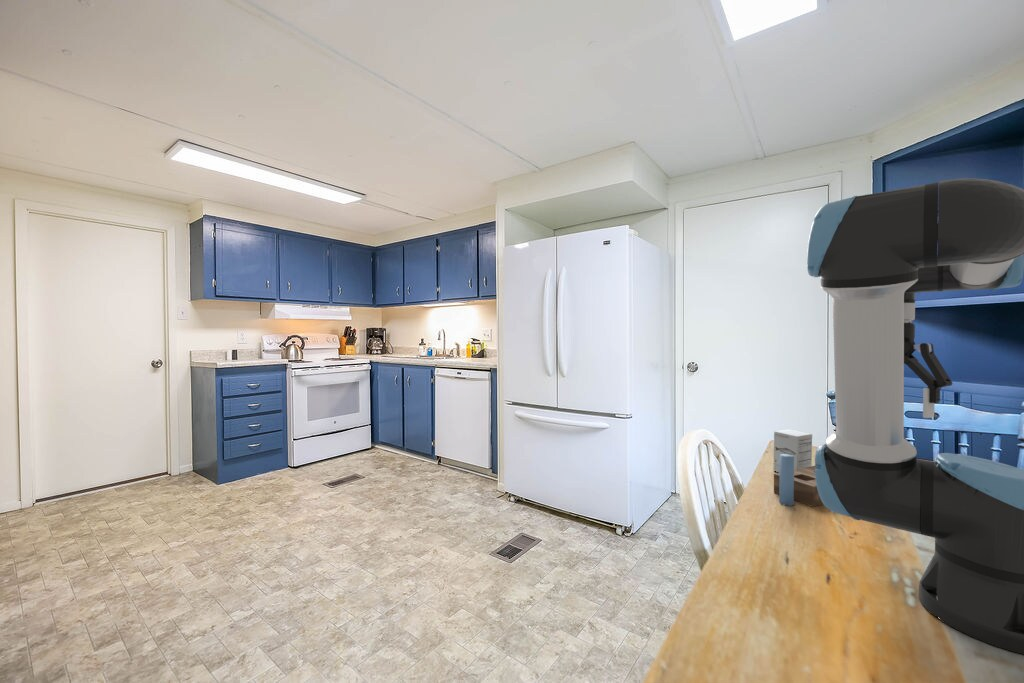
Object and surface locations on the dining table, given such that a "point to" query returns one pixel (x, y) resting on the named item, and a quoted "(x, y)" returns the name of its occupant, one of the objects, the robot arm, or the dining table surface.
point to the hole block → (803, 486)
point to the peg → (786, 480)
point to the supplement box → (793, 448)
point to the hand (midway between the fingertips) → (891, 412)
